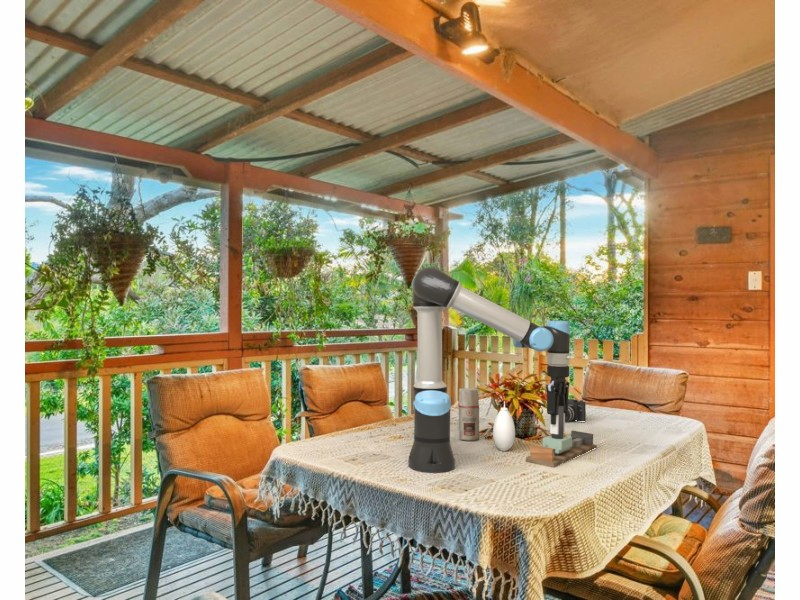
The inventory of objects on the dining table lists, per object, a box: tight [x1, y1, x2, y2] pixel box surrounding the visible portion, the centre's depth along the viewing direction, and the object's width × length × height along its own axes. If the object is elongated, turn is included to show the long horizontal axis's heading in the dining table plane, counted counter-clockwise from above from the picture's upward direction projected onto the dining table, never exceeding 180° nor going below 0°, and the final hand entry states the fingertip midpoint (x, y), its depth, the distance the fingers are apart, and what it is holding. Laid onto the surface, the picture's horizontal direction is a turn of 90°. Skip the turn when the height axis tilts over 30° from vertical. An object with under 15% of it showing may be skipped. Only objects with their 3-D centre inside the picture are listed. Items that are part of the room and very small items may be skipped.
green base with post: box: [542, 405, 572, 454], centre depth 193 cm, size 8×7×15 cm
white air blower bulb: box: [492, 400, 516, 452], centre depth 202 cm, size 8×8×18 cm
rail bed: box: [525, 430, 598, 468], centre depth 197 cm, size 34×10×6 cm, turn 138°
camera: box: [565, 398, 587, 423], centre depth 257 cm, size 14×11×10 cm
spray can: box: [458, 387, 480, 441], centre depth 218 cm, size 8×8×20 cm
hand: (557, 432), depth 193 cm, fingers closed on green base with post, 4 cm apart
